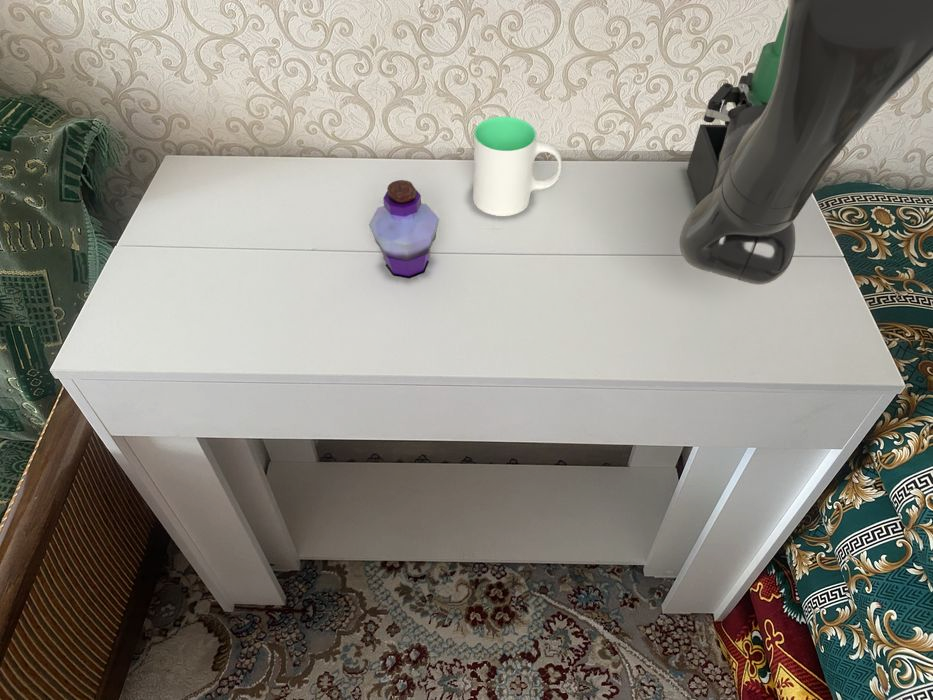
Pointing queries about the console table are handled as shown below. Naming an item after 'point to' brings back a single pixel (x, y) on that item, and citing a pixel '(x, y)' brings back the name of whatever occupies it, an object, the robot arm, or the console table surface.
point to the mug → (507, 165)
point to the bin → (705, 159)
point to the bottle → (768, 66)
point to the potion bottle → (404, 230)
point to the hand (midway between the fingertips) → (771, 84)
